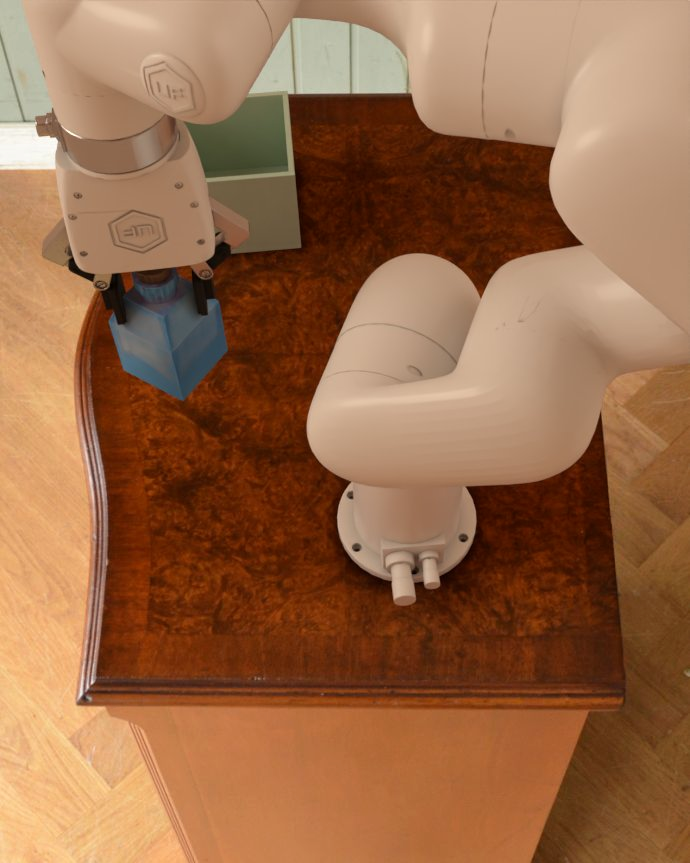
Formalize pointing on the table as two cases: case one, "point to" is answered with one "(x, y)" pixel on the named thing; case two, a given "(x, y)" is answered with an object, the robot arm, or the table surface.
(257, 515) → the table surface
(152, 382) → the perfume bottle
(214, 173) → the waste bin
